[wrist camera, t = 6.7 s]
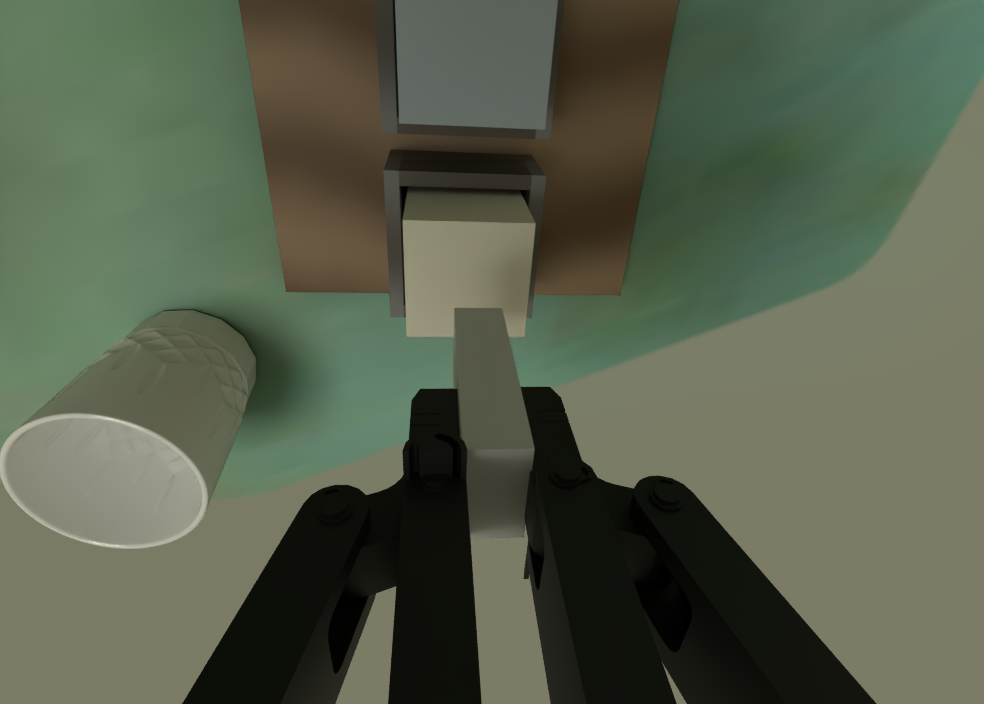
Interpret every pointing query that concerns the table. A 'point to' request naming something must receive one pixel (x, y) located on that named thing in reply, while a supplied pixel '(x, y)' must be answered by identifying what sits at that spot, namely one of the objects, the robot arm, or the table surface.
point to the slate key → (475, 62)
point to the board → (450, 143)
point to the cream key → (465, 256)
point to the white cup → (135, 435)
